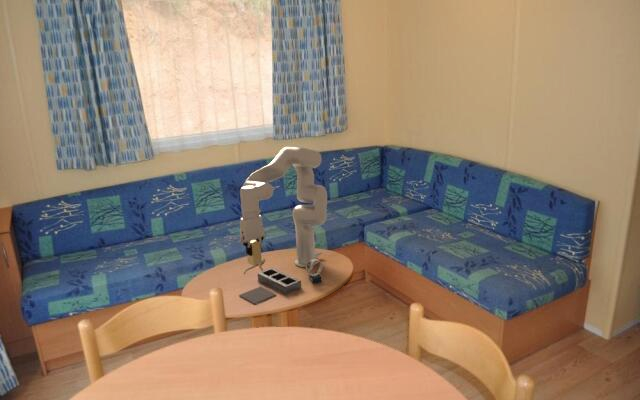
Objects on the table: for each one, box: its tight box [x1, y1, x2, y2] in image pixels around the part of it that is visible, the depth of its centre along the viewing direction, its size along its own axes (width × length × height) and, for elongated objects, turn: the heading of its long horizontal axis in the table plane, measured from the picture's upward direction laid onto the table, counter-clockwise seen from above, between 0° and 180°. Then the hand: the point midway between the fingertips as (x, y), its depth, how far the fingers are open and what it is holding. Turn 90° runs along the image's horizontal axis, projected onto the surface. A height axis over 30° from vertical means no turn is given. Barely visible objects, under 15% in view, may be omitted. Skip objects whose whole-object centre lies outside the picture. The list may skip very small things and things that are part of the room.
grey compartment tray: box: [257, 267, 302, 295], centre depth 228 cm, size 22×9×4 cm, turn 43°
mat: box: [239, 286, 277, 305], centre depth 218 cm, size 12×12×1 cm
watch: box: [305, 258, 324, 285], centre depth 228 cm, size 6×8×11 cm
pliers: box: [243, 258, 266, 275], centre depth 249 cm, size 10×1×20 cm
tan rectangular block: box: [246, 239, 263, 266], centre depth 212 cm, size 4×4×10 cm
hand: (254, 253), depth 212 cm, fingers closed on tan rectangular block, 4 cm apart
